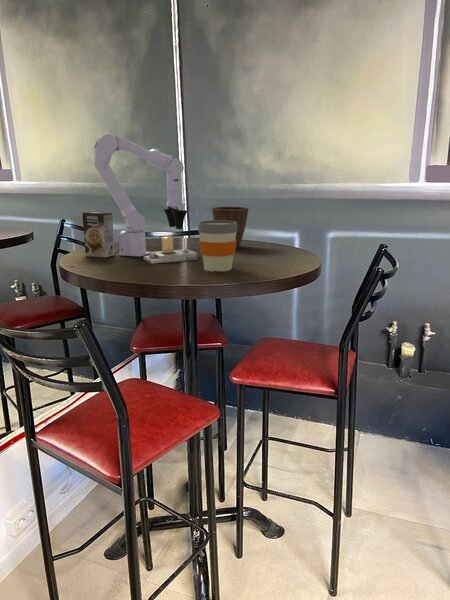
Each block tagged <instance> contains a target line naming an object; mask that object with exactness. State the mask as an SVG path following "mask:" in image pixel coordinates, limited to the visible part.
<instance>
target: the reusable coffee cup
mask: <svg viewBox="0 0 450 600" xmlns="http://www.w3.org/2000/svg"><path fill="white" fill-rule="evenodd" d="M197 228H198V229H197V231H198V233H199V240H198V242H199V249H200V254H201V255H202V262H203V269H204V271H207V272H214V271H217V272H218V271H219V273H220V272H221V271H222V272H228V271H231V270H232V269H233V263H234V262H233V261H234V255H235V254H236V249H237V248H236V241H237V240H236V232H237V222H235V221H224V220H204V221H203V220H202V221H199V222H198V227H197Z"/></svg>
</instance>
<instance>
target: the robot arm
mask: <svg viewBox="0 0 450 600" xmlns="http://www.w3.org/2000/svg"><path fill="white" fill-rule="evenodd" d="M93 147H94V159H93V160H94V161H93V162H94V168H95V170H96V171H97V172H98V174H99V176H100V178H101V180H102V182H103V183H104V185H105V186H106V188H107V189H108V191H109V193H110V194H111V196H112V198H113V200H114V202H115V203H116V205H117V206H118V207H119V209H120V210H119V211H120V212H121V214H122V216H123V218H124V224H125V225H126V229H125V230H122V231H120V233H119V234H118V235H119V236H118V245H119V247H118V248H119V253H118V256H127V257H130V256H131V257H142V256H143V257H144V256H147V255H149V252H150V251H147V246H146V229H144V228H145V226H146V219H145V217H144V216H143V215H142V214H140V213H139V211H138V210H137V209H136V207H135V206H134V205H133V203H132V202H131V199H130V198H129V197H128V195H127V193H126V191H125V189H124V188H123V186H122V184H121V183H120V181H119V179H118V177H117V176H116V174H115V172H114V171H113V169H112V167H111V165H110V164H111V163H110V162H111V160H112V156H113V154H114V153H115V152H120V151H121V152H123V151H125V152H128V153H130V154H132V155H135V156H138V157H140V158H142V159H144V160H145V161H146V162H147V165H150V166H152V167H154V168H157V169H159V170H161V171H164V172H166V197H167V198H166V199H167V202H166V208H163V211H164V213H165V215H166V218H167V222H168V226H169V228H175V229H176V230H182V229H183V227H184V221H185V218H186V216H187V213H188V210H186V209H185V206H186V203H185V202H183V178H182V177H183V176H182V175H183V174H182V173H183V172H184V170H185V166H184V164H183V162H182V160H180V159H179V158H175V157H173V155H171V154H169V155H168V154H167V153H164V152H161V149H159V148H156V149H155V148H152V149H146V148H144V147H142V146H140V145H138V144H136V143H135V142H132V141H130V140H128V139H125V138H122V137H120V136H117V135H113V134H112V133H104V134H102V135H99V137H97V139H96V142H95V145H94V146H93Z"/></svg>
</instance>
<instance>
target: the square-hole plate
mask: <svg viewBox="0 0 450 600" xmlns="http://www.w3.org/2000/svg"><path fill="white" fill-rule="evenodd" d="M148 252H149V254H148V255H144V256H143V260H145V262H147V263H149V264H152V265H153V264H163V263H175V262H184V261H197V260H198V252H196V251H194V250H191V249H189V248H182V249H173V254H167V255H164V254H162V250H161V251H148Z"/></svg>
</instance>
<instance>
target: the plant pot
mask: <svg viewBox="0 0 450 600" xmlns="http://www.w3.org/2000/svg"><path fill="white" fill-rule="evenodd" d="M211 214H212V219H213V220H224V221H235V222H237V232H236V240H237V241H236V249H239V248H240V245H241V243H242V240H243V236H244V233H245V229H246V226H247V225H246V224H247V221H248V215H249V207H245V206H244V207H243V206H216V207H212V208H211Z"/></svg>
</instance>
